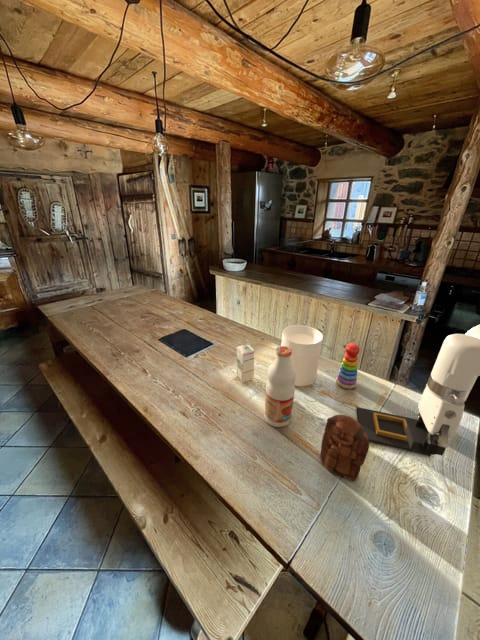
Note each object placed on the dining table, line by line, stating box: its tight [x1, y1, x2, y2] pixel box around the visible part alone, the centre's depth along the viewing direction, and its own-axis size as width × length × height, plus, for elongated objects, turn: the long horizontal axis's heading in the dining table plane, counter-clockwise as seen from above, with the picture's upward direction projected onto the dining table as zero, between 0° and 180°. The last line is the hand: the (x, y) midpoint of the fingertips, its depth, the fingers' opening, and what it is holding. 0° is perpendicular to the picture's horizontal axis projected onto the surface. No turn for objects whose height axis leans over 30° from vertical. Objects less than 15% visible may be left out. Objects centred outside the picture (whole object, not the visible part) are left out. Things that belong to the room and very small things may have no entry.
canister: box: [280, 324, 324, 387], centre depth 111 cm, size 16×16×20 cm
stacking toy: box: [335, 343, 361, 390], centre depth 106 cm, size 8×8×19 cm
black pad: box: [405, 425, 447, 457], centre depth 68 cm, size 7×6×3 cm
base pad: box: [356, 406, 432, 457], centre depth 88 cm, size 20×14×2 cm
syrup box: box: [236, 343, 256, 383], centre depth 110 cm, size 6×6×14 cm
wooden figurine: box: [319, 414, 370, 482], centre depth 73 cm, size 12×6×18 cm, turn 56°
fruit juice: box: [263, 345, 296, 428], centre depth 87 cm, size 9×9×28 cm
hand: (423, 441), depth 68 cm, fingers closed on black pad, 5 cm apart
